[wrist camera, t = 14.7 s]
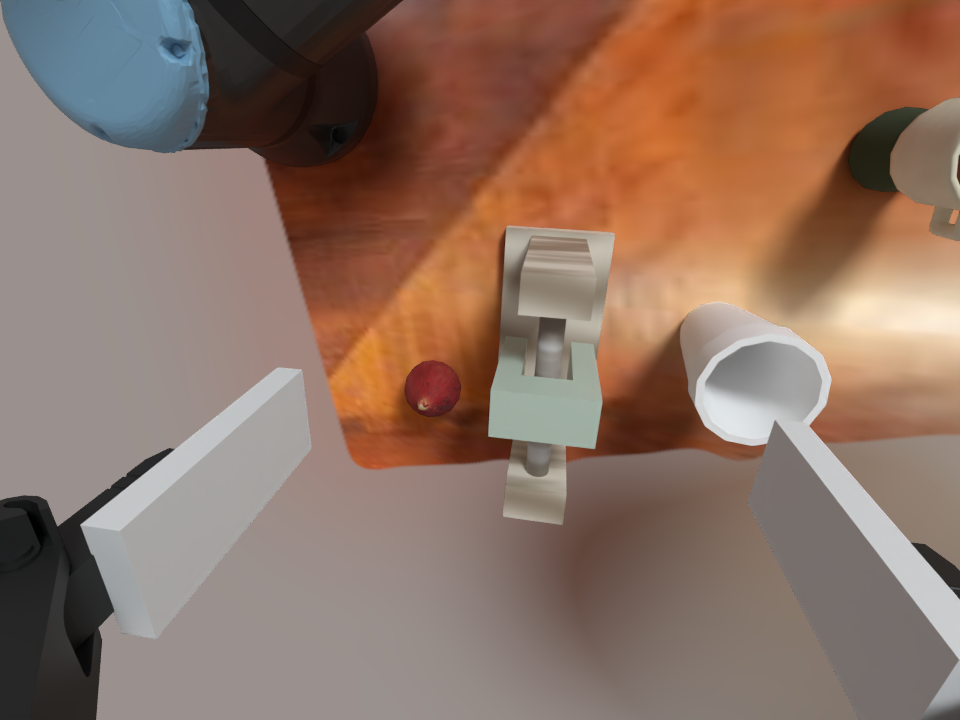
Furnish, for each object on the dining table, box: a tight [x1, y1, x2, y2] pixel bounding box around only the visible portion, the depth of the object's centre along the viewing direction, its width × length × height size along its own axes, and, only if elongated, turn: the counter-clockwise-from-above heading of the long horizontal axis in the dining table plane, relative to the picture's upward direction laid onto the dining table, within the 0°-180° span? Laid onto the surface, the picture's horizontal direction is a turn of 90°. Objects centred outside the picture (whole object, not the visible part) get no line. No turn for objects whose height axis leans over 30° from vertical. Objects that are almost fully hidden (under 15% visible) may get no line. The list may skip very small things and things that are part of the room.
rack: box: [498, 226, 615, 525], centre depth 44 cm, size 22×10×16 cm, turn 178°
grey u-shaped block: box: [488, 336, 602, 449], centre depth 41 cm, size 4×8×11 cm, turn 87°
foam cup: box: [680, 301, 832, 446], centre depth 43 cm, size 10×9×13 cm
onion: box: [405, 360, 461, 417], centre depth 52 cm, size 6×6×8 cm
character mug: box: [848, 97, 960, 241], centre depth 35 cm, size 11×7×13 cm, turn 2°
